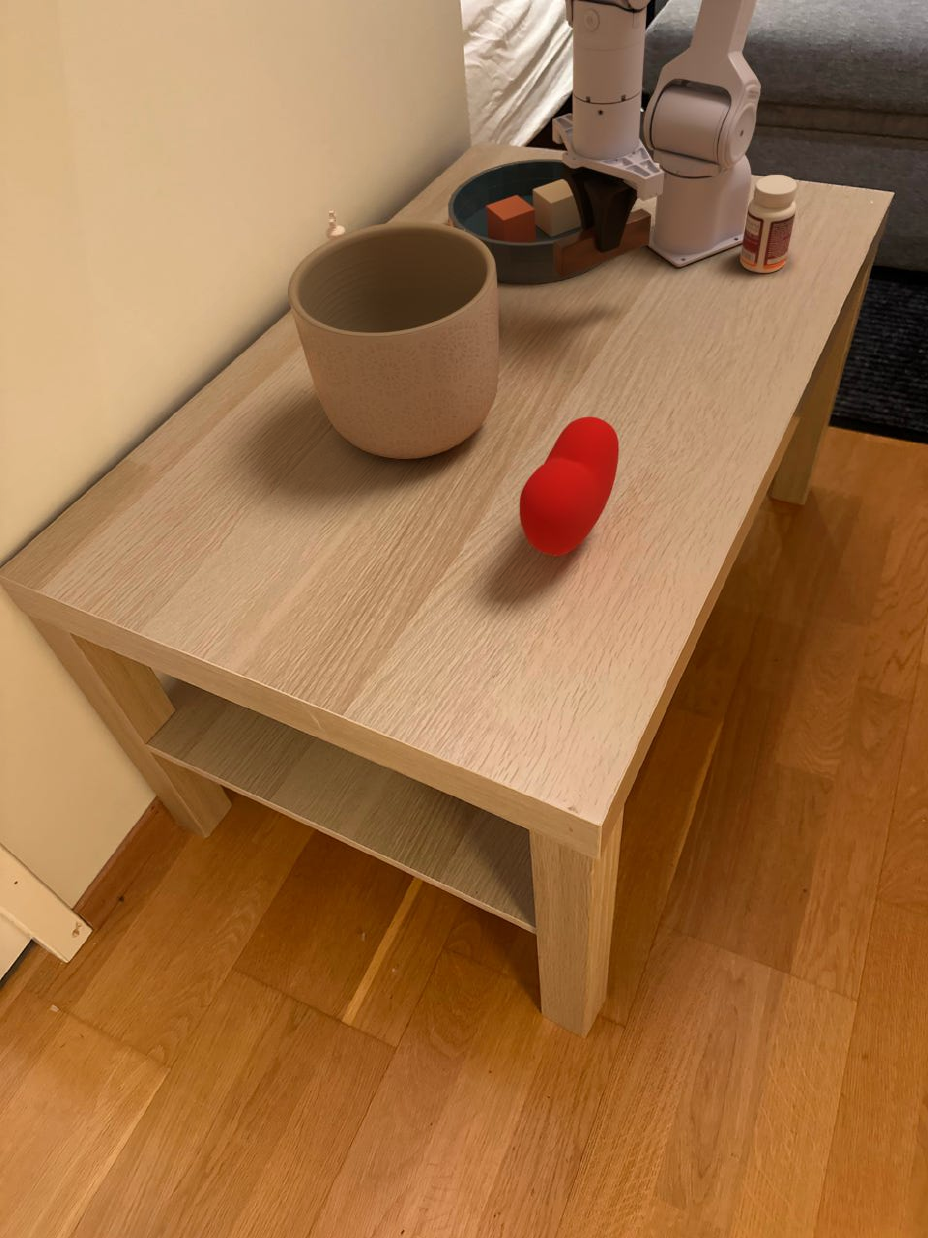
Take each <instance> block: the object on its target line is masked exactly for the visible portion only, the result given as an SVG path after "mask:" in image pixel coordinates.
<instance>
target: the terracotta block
mask: <svg viewBox="0 0 928 1238" xmlns="http://www.w3.org/2000/svg"><path fill="white" fill-rule="evenodd" d="M486 211H487V225H488V238H490V239H493V240H499V241H506V242H520V243H532V242H536V232H535V209H534V208H533V207H532V206H530V205H529V204H528V203H527V202H525V201H524V200H523V199H522V198H520V197H519V196H518V195H515V196H512V197H509V198H507V199H504V200H501V201H498V202H495V203H492V204H490V205H487V206H486Z"/></svg>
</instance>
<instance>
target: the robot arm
mask: <svg viewBox="0 0 928 1238" xmlns="http://www.w3.org/2000/svg"><path fill="white" fill-rule="evenodd" d="M757 1H758V0H701V2H700V6H699V11H698V13H697V14H698V15H697V19H696V23H695V26H694V30H693V34H692V38H691V42H690V46H689V47H688V48H687V49H686V50H685V51H682V53H680V54H679V55H677V56H676V57H674V58H672V59H671V60H670V61H668V62H667V63H666V64H664V66H663V67H661V71H660V74H659V76H658V77H659V78H658V81H657V84H656V86H655V90H654V92H653V94H652V95H651V96H650V97H651V98H650V100H649V102H648V104H647V107H646V110H645V113H644V119H643V126H642V128H643V129H642V130H643V131H642V132H643V137H644V141H645V144H646V146H647V148H648V149H649V150H650V151H653V158H652V157H651V155H650V154H649V152H648V151H647V149H646V147H645V145H644V144H643V142H642V140H641V139H640V129H641V128H640V127H641V112H642V111H641V110H642V109H641V108H642V94H643V93H642V92H643V76H644V75H643V73H644V58H645V57H644V56H645V42H646V41H645V40H646V23H647V10H648V9H647V7H648V4H649V3H650V2H651V0H564V2H565V21H566V22H567V25H568V26H569V27H570V29H572V113H567V114H564V115H561V116H558V117H554V118H552V121H551V123H552V141H553V142H554V143H556V144H557V145H561V144H564V146H565V148H566V151H564V152H563V153H562V154H561V158H562V159H561V160H562V162H563V163H564V164H565V165H564V166H563V167H562V174H563V176H564V178H565V179H566V181H567V183H568V185H569V187H570V189H571V191H572V194H573V196H574V199H575V202H576V205H577V208H578V212H579V216H580V220H581V224H582V229H583V230H585V229H588V228H591V227H593V226H595V236H596V243H597V247H598V251H600V252H601V253H605V252H607V251H610V250H612V249H615V248H618V247H619V246H620V243H621V239H622V236H623V233H624V230H625V227H626V223H627V221H628V218H629V215H630V213H631V212H632V211H633V208H634V206H635V204H636V202H637V201H638V200H641V201H642V202H645V201H648V200H650V199H653V198H656V199H655V201H656V202H655V213H654V225H653V227H650V240H649V244H648V245H646V246H647V247H648V248H650V249H651V250H653V251H654V252H656V253H657V254H659V255H660V256H661V257H662V258H664V259H665V260H667V261H668V262H669V263H671V264H672V265H674V266H675V267H676V268H681V267H684V266H686V265H689V264H691V263H694V262H697V261H699V260H702V259H705V258H707V257H709V256H712V255H715V254H718V253H720V252H722V251H724V250H728V249H731V248H732V247H736V246H737V245H740V244H742V243H743V236H744V231H745V224H746V218H747V211H748V206H749V202H750V201H749V200H750V195H751V189H752V181H753V180H752V179H753V177H752V176H753V175H752V169H751V165H750V161H749V159H748V157H747V155H746V152H747V151H748V148H749V147H750V144H751V141H752V138H753V136H754V132H755V128H756V123H757V109H758V103H759V100H760V96H761V89H762V86H761V83H760V81H759V79H758V77H757V75H756V74H755V73H754V71H753V70H752V68H751V66H750V65H749V63H748V62H747V60H746V59H745V57H744V55H743V51H744V48H745V44H746V43H745V42H746V41H747V37H748V34H749V29H750V25H751V22H752V19H753V16H754V13H755V9H756V5H757ZM692 83H699V84H706V85H711V86H715V87H716V86H717V87H721V88H723V89H725V90H726V91H727V92H728V93H722V92H717V91H713V90H708V89H704V88H703V89H702V88H698V87H694V86H693V87H692V86H689V85H690V84H692ZM656 163H657V164H658V165H656Z"/></svg>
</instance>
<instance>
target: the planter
mask: <svg viewBox="0 0 928 1238" xmlns="http://www.w3.org/2000/svg"><path fill="white" fill-rule="evenodd" d="M287 296H288V301H289V306H290V309H291V313H292V317H293V321H294V324H295V327H296V330H297V333H298V338H299V340H300V343H301V346H302V350H303V353H304V356H305V360H306V364H307V367H308V370H309V374H310V376H311V379H312V383H313V386H314V389H315V391H316V393H317V394H316V395H317V396H318V399H319V401H320V404H321V406H322V408H323V410H324V412H325V415H326V416H327V418H328V420H329V421H330V424H331V425H332V426H333V427H334V429H335V430H336V431H337V433H339V434H340V435H341V436H342V438H344V439H345V440H346V441H347V442H349V443H350V444H352V445H353V446H355V447H357V448H358V449H360V450H363V451H365V452H366V453H369V454H372V455H375V456H378V457H383V458H388V459H396V460H414V459H422V458H423V459H424V458H427V457H431V456H435V455H438V454H441V453H444V452H446V451H448V450H450V449H452V448H454V447H456V446H458V445H460V444H461V443H463V442H464V441H465V440H467V439H468V438H469V437H471V435H473V434H474V433H475V432H476V431H477V430H478V429H479V428H480V427H481V425H482V424H483V423H484V421H485V420H486V419H487V416H488V415H489V413H490V412H491V409H492V407H493V404H494V401H495V399H496V395H497V391H498V383H499V374H500V373H499V372H500V329H499V328H500V325H499V300H498V299H499V298H498V297H499V295H498V281H497V274H496V265H495V260H494V257H493V255H492V253H491V252H490V250H489V249H488V247H487V246H486V245H485V244H484V243H483V242H482V241H480V240H479V239H478V238H476V237H475V236H473V235H471V234H469V233H467V232H465V231H463V230H460V229H457V228H454V227H451V226H450V225H447V224H442V223H436V222H435V223H434V222H426V221H396V222H388V223H380V224H375V225H371V226H367V227H363V228H359V229H356V230H352V231H349V232H347V233H345V234H344V235H341V236H339V237H337V238H335V239H333V240H331V241H330V240H328V241H327V242H325V243H323V244H322V245H320V246H318V247H317V248H315V249H314V250H313V251H311V252H310V253H309V254H308V255H306V257H304V258H303V259H302V261H300V263H299V264H298V265H297V266H296V268H295V269H294V271H293V272H292V274H291V277H290V279H289V282H288V286H287Z"/></svg>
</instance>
